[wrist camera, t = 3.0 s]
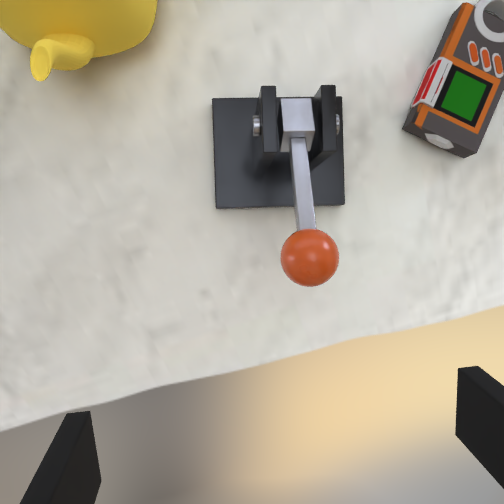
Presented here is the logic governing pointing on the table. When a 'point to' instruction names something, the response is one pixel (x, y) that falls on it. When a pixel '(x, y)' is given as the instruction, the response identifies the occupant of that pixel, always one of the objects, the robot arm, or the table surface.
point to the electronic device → (462, 81)
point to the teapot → (75, 29)
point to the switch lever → (303, 200)
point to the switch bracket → (274, 152)
